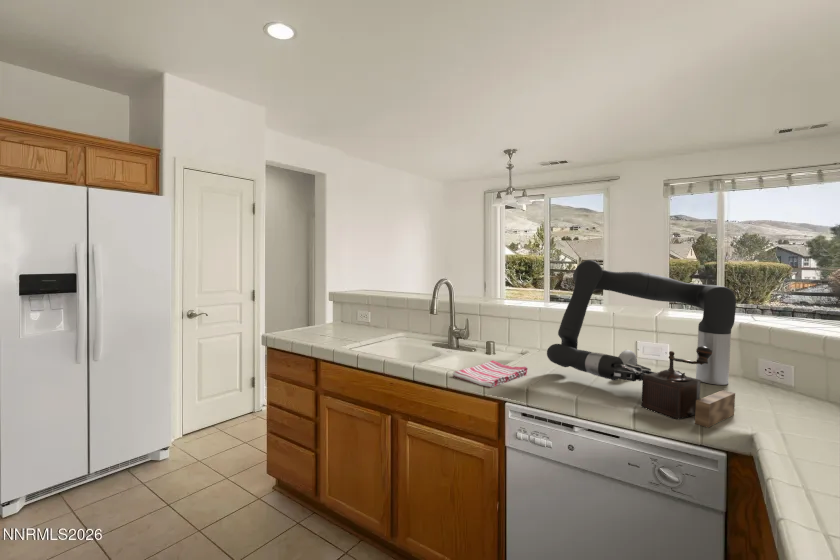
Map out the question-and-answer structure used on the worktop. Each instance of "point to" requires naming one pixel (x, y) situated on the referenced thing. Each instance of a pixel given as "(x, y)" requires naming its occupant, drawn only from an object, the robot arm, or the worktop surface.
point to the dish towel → (490, 374)
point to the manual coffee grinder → (673, 388)
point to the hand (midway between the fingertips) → (658, 378)
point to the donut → (628, 357)
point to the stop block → (714, 408)
